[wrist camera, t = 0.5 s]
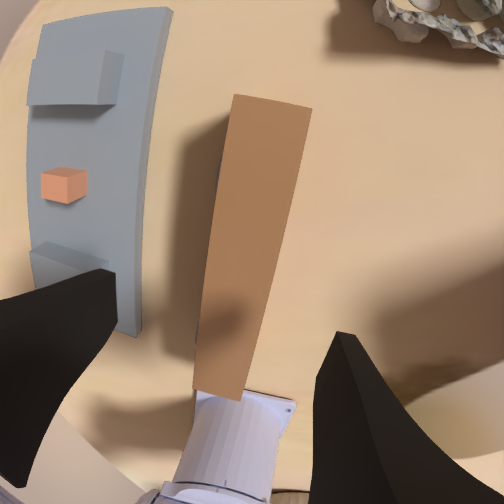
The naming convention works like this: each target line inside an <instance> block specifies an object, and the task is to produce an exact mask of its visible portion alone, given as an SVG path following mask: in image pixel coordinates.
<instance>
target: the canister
mask: <svg viewBox="0 0 504 504" xmlns="http://www.w3.org/2000/svg"><path fill="white" fill-rule="evenodd" d="M308 499H309V493H301V492H298V493H295V492H290V493H288V492H285V493H274V494H271V497H270V503H271V504H308Z"/></svg>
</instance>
